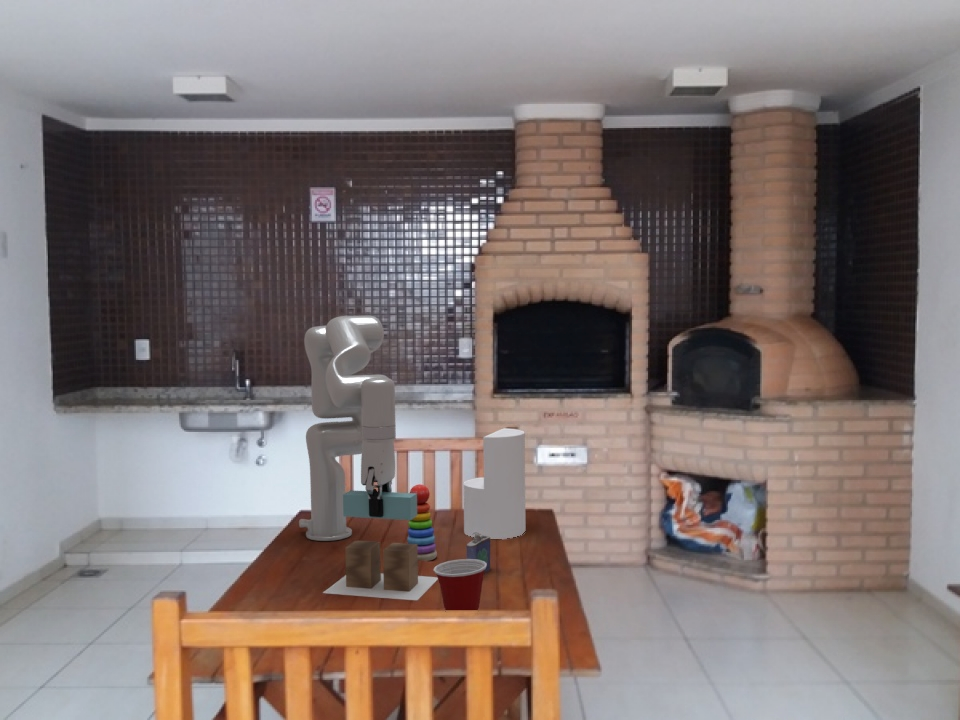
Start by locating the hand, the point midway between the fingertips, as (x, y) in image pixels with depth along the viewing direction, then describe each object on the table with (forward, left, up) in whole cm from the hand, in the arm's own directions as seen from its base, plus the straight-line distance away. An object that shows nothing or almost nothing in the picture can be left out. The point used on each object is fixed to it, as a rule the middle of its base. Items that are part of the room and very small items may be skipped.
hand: (380, 513), depth 200 cm
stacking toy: (+1, +25, -18) cm, 31 cm away
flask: (+19, +13, -18) cm, 29 cm away
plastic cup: (+23, -16, -18) cm, 33 cm away
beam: (0, 0, -1) cm, 1 cm away
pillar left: (-4, 0, -17) cm, 17 cm away
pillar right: (+5, 0, -17) cm, 17 cm away
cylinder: (+13, +54, -18) cm, 58 cm away
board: (0, 0, -18) cm, 18 cm away
